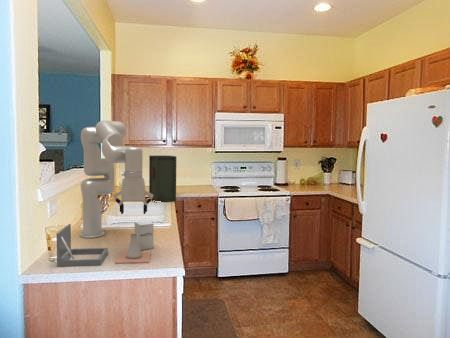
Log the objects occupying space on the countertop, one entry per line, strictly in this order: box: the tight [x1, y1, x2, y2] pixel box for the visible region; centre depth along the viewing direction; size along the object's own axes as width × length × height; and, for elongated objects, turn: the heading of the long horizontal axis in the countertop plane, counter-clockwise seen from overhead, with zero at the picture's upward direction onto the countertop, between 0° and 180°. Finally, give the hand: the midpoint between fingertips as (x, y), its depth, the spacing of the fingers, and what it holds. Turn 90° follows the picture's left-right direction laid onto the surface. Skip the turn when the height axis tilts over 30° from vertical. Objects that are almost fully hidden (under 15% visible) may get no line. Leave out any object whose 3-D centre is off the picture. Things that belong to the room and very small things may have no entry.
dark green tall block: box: [148, 155, 177, 204], centre depth 304 cm, size 18×18×40 cm
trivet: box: [115, 250, 152, 265], centre depth 153 cm, size 14×14×1 cm
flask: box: [126, 233, 142, 259], centre depth 153 cm, size 7×7×10 cm
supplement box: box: [134, 220, 154, 251], centre depth 168 cm, size 7×7×13 cm
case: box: [56, 223, 109, 268], centre depth 150 cm, size 16×17×14 cm
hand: (133, 213), depth 152 cm, fingers open, 9 cm apart
